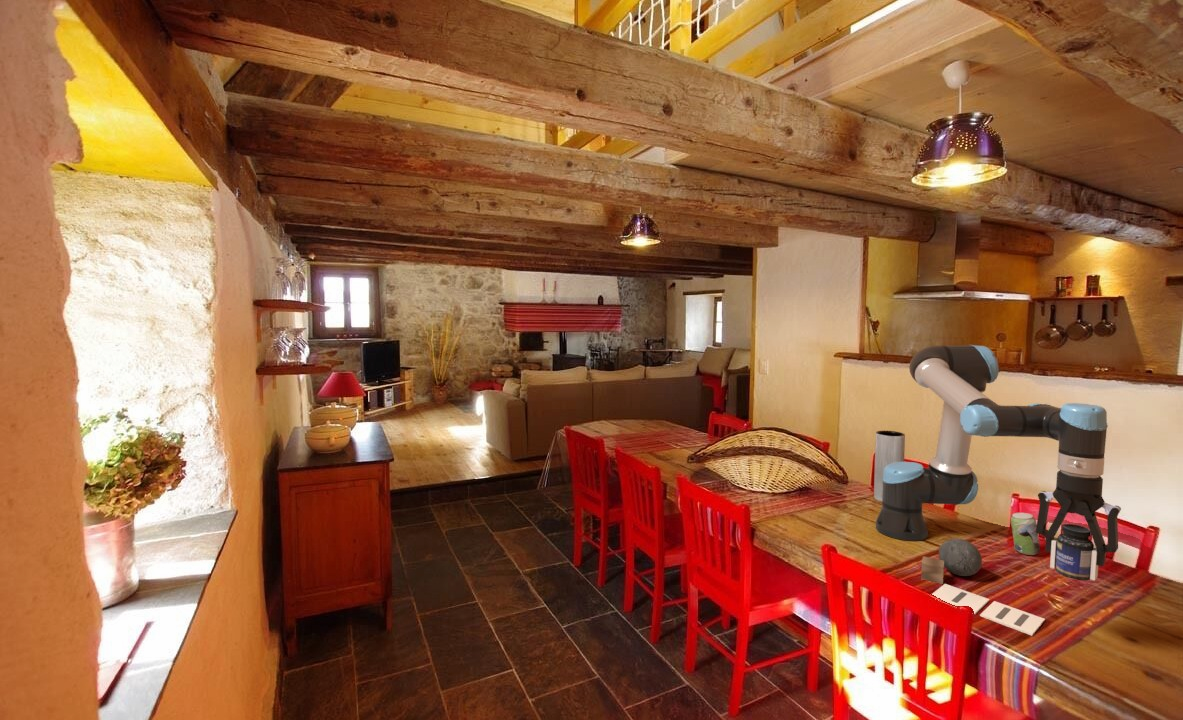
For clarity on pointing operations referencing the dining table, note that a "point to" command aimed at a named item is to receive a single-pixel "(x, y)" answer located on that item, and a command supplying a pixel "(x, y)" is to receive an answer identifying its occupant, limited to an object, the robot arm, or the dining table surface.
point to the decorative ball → (960, 557)
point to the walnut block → (932, 570)
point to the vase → (886, 456)
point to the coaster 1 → (960, 597)
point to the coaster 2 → (1012, 618)
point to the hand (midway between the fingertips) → (1073, 571)
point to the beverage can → (1025, 533)
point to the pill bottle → (1074, 552)
